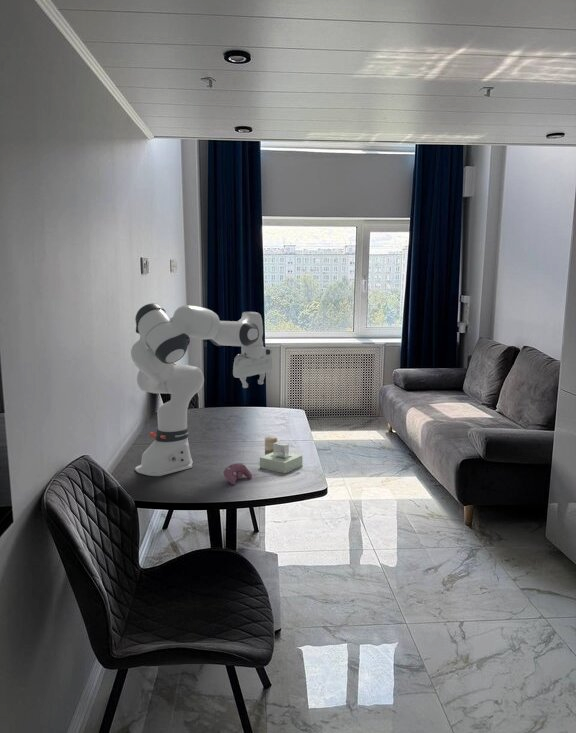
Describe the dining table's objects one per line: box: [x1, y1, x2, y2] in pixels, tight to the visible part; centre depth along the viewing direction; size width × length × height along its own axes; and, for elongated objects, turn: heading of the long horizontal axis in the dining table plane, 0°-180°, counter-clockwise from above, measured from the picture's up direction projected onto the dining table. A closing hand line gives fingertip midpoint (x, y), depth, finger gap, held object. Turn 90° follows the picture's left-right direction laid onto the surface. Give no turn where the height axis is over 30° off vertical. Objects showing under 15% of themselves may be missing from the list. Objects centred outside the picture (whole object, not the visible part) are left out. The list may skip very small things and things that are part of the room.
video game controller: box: [223, 462, 253, 486], centre depth 210 cm, size 10×5×7 cm, turn 141°
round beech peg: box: [264, 436, 278, 455], centre depth 236 cm, size 5×5×8 cm
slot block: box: [259, 452, 303, 474], centre depth 225 cm, size 11×12×4 cm
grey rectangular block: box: [273, 441, 290, 460], centre depth 224 cm, size 2×6×9 cm, turn 53°
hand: (253, 385), depth 239 cm, fingers open, 8 cm apart
